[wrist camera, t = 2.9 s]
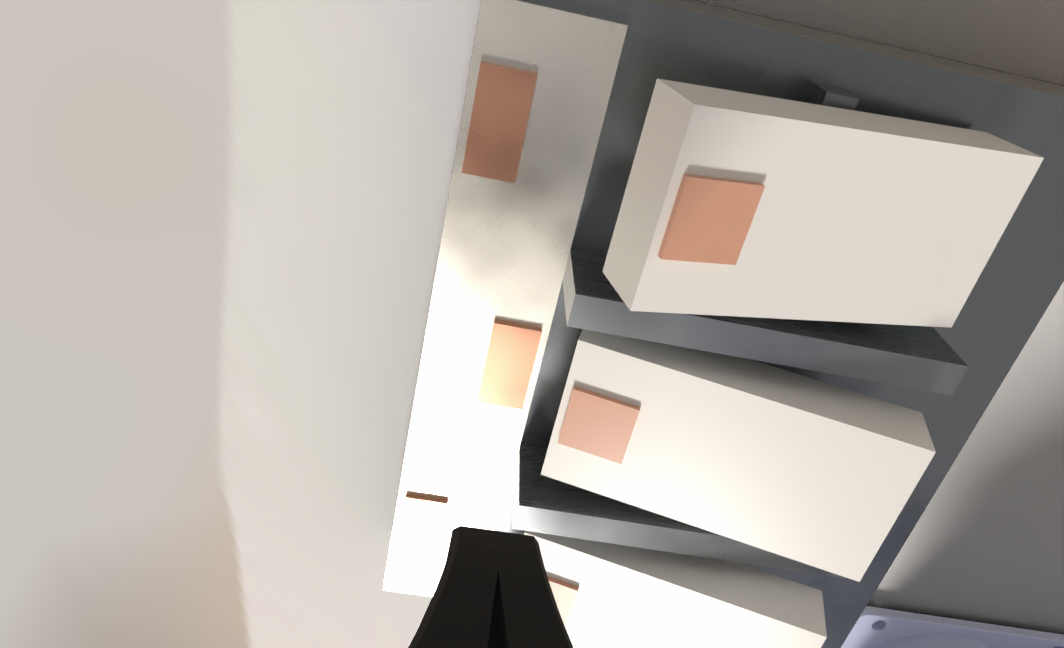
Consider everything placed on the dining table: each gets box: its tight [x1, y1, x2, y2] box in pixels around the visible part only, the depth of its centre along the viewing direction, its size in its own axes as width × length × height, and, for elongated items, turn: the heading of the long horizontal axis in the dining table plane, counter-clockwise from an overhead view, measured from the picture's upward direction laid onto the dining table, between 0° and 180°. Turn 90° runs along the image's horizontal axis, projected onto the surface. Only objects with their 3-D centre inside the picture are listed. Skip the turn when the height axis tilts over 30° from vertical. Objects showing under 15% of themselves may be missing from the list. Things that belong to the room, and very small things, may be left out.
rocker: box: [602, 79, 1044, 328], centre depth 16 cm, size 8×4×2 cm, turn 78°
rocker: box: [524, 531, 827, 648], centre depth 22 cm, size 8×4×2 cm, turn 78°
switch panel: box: [383, 0, 1064, 648], centre depth 21 cm, size 15×18×5 cm
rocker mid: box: [541, 329, 936, 582], centre depth 19 cm, size 8×4×2 cm, turn 78°
